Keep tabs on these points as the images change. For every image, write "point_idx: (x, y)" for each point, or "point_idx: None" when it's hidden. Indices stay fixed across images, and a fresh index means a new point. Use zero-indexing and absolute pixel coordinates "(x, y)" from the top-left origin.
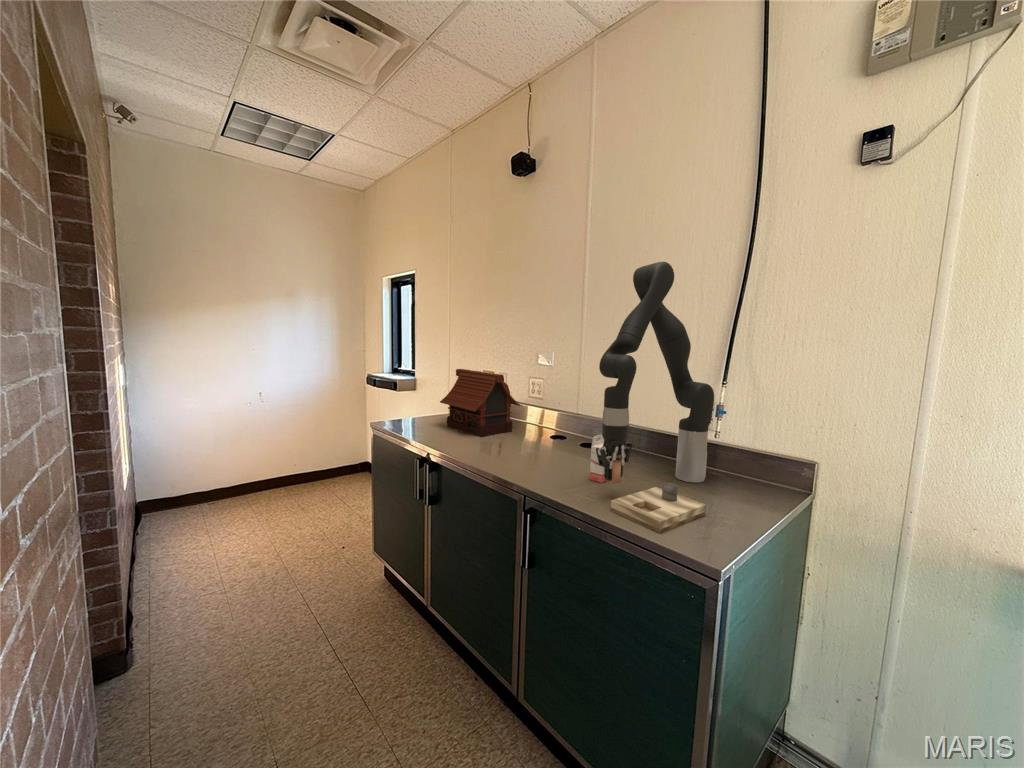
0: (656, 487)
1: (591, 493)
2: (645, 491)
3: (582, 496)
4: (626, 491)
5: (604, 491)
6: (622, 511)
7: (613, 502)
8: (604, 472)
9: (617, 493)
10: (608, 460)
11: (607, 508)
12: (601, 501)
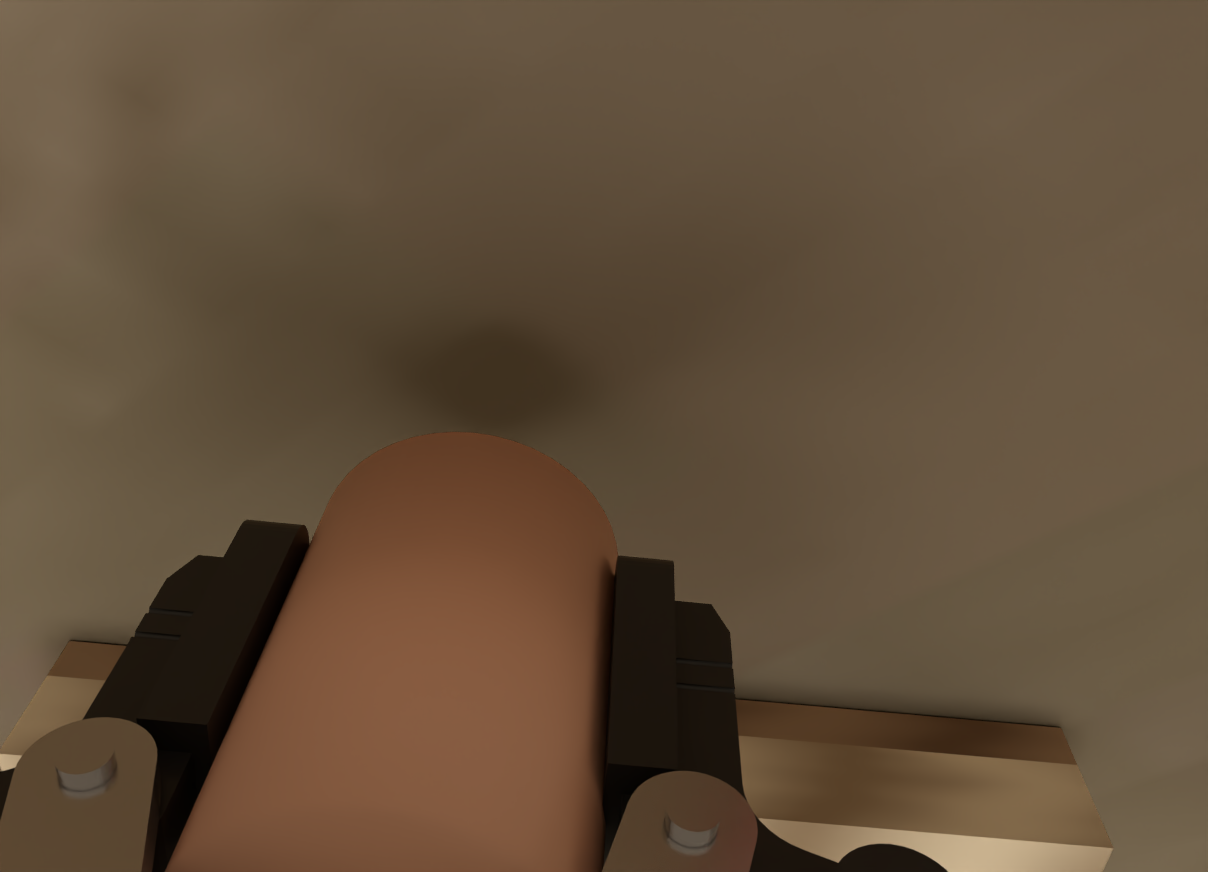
0: (1080, 860)
1: (296, 33)
2: None
3: (17, 25)
4: (936, 380)
5: (609, 130)
6: None
7: None
8: (122, 653)
9: (720, 340)
10: (283, 835)
11: (87, 577)
12: (189, 385)
